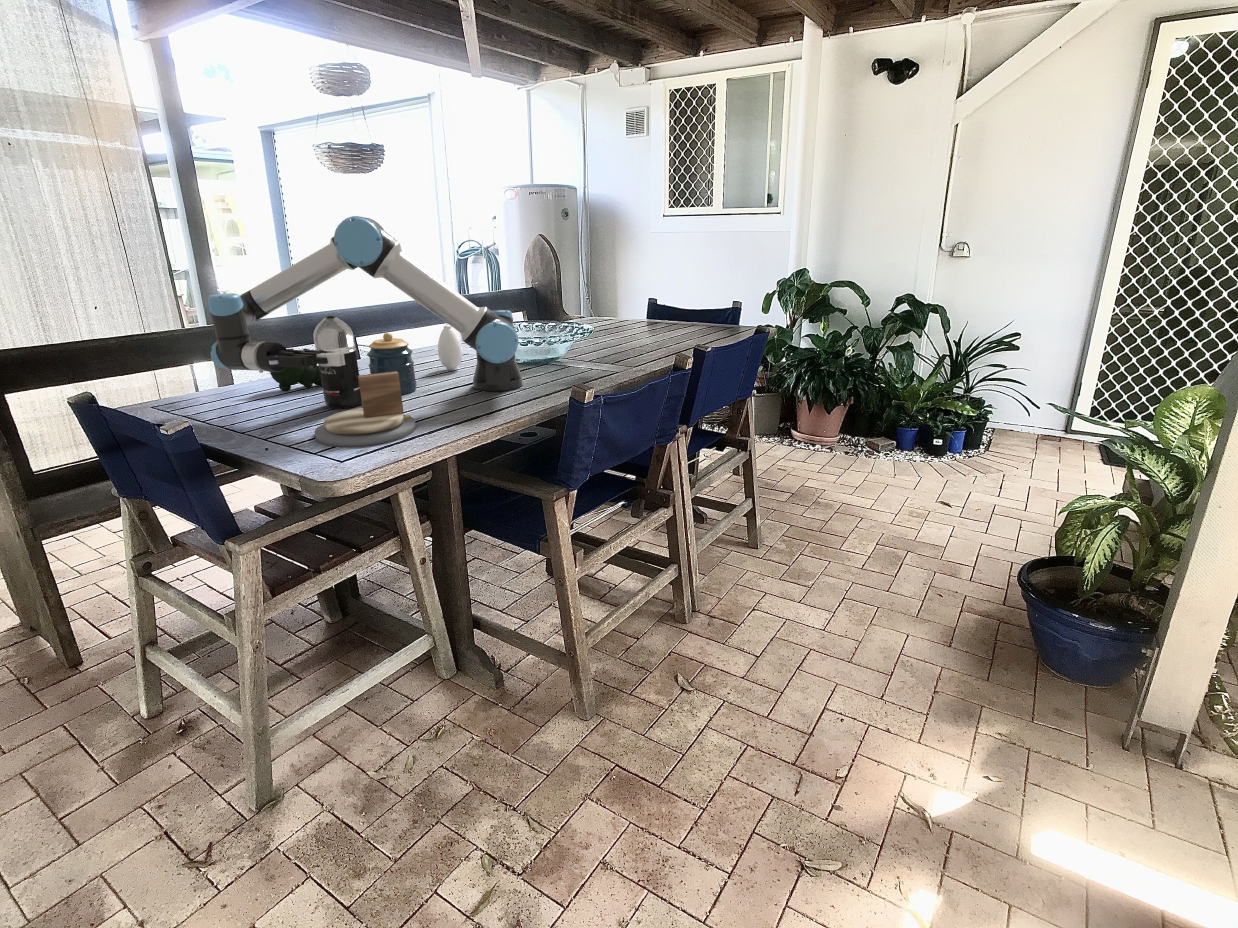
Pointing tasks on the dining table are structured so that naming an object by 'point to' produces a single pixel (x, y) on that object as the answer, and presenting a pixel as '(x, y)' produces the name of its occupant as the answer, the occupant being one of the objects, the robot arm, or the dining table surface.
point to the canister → (393, 360)
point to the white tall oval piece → (449, 348)
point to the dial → (371, 406)
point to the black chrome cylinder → (338, 379)
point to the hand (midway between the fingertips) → (341, 360)
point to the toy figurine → (297, 377)
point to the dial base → (365, 435)
